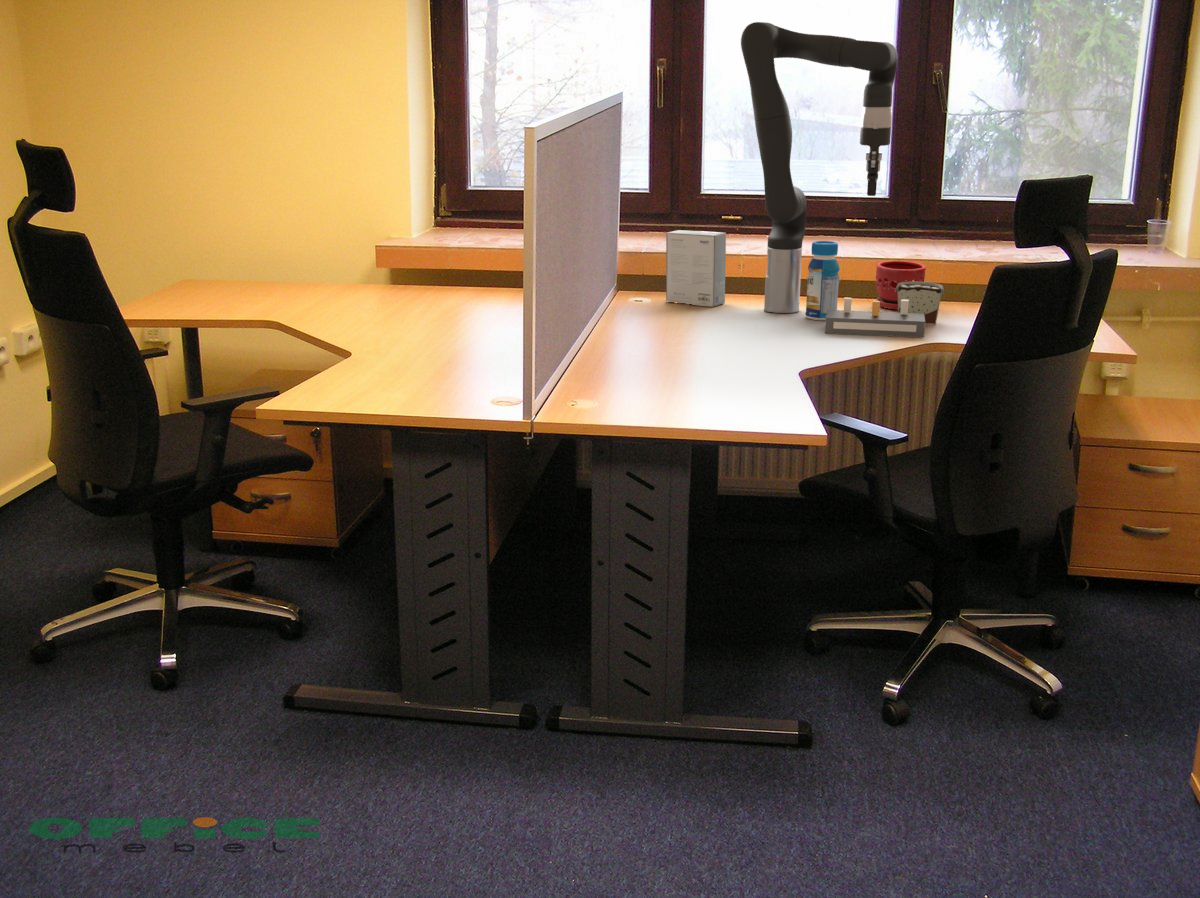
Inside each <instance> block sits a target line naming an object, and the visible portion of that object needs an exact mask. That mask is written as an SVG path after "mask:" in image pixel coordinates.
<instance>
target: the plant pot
mask: <svg viewBox="0 0 1200 898" xmlns="http://www.w3.org/2000/svg"><path fill="white" fill-rule="evenodd" d="M926 268H927V267H926V266H925V264H923V263H919V262H914V261H907V260H886V261H881V262H878V263H877V264H876V268H875V269H876V270H875V283H876V284H875V285H876V291H877V294H878V297H877V298H876V300H875V301H880V308H883V307H884V308H883V309H887V308H888V309H887V310H893V309H895V311H898V291H896V292H895V290H896V287H897V285H898V284H899V283H902V282H925V280H926V279H925V277H926Z"/></svg>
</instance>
